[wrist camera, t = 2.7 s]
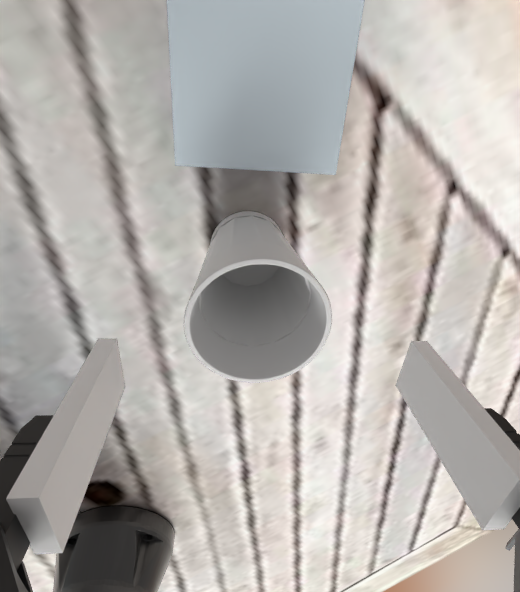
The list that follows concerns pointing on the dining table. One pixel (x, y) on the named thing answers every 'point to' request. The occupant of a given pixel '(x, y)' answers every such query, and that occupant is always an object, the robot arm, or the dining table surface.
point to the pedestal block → (261, 82)
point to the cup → (255, 304)
